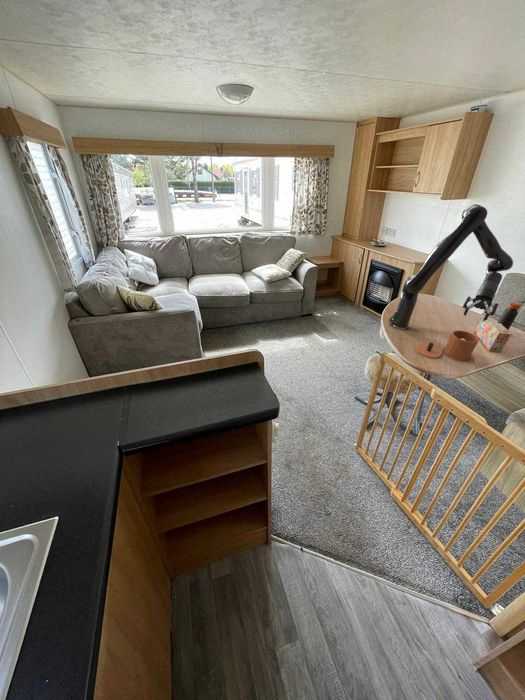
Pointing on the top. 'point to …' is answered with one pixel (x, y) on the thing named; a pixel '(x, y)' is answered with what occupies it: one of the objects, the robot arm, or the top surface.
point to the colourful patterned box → (492, 335)
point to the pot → (461, 345)
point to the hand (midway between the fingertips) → (474, 318)
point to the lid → (428, 350)
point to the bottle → (509, 315)
